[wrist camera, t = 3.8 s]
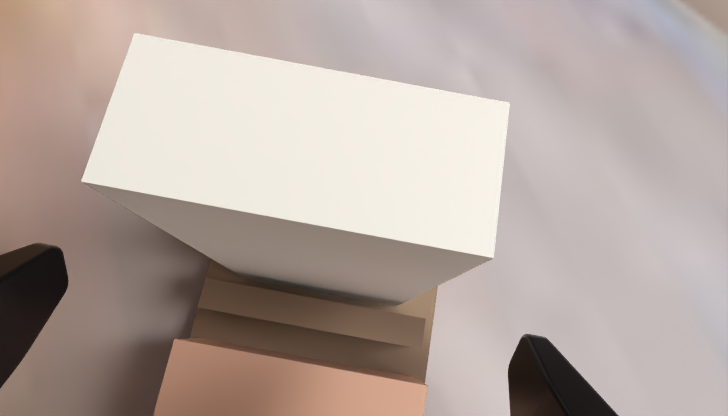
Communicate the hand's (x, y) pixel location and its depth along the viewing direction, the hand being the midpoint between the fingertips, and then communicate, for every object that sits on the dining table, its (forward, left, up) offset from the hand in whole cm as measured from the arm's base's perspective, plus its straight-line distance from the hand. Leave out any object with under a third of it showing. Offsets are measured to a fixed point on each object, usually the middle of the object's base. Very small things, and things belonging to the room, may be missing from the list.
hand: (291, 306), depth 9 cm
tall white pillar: (+1, +2, -9) cm, 10 cm away
